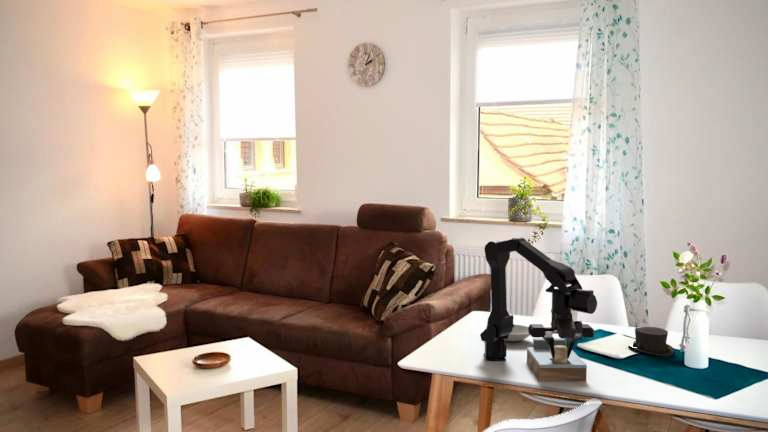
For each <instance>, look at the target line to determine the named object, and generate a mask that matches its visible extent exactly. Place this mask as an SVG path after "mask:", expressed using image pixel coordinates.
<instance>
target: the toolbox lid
mask: <svg viewBox="0 0 768 432" xmlns="http://www.w3.org/2000/svg"><path fill="white" fill-rule="evenodd" d="M532 338H533V341H532V345H533V346H532V347H530V346H527V347H526V348H527V349H526V352H527V351H528V352H529V354H530V355H531V356H532V358H533V359H534V361H535V362H536V363H537V365H538V366H539V367H540V368H588V366H587V364H586V362H585V361H583V359H582V358H581V357H579V355H578V354H576V352H574V350H573V349H572V351H571V354H570V356H569V358H568V359H567V363H568V364H553V360H554V359H553V358H552V356H551V353H550V350H549V347H548V344H547V342H546V340H544V339H543V338H542V337H532ZM556 345H562V346H566V338H554V346H556Z"/></svg>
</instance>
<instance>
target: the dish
mask: <svg viewBox="0 0 768 432" xmlns="http://www.w3.org/2000/svg"><path fill="white" fill-rule="evenodd" d="M513 324H514V327H513V329H512V332H511V333H510V334H509V337H508V339H504V340H505V342H519V341H524V340H525V339H528V338H529V337H531V335H530V334H529V333H528V328H529V325H528V326H527V325H523V324H517V323H516V324H515V323H513ZM486 328H487V326H486V327H485V329H486Z"/></svg>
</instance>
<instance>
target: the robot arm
mask: <svg viewBox="0 0 768 432" xmlns="http://www.w3.org/2000/svg"><path fill="white" fill-rule="evenodd" d="M512 252H515V253H517V254H519V255H520V256H521V257H523V258H524V259H525V260H527V262H529V263H530V264H532V265H533V266H535V267H536V268H537V269H539V270H540V271H541V272H542V273H543V276H544V277H545V280H547V281H548V282H549V283H550V285H549V287H548V288H546V289H545V292H546V293H551V309H550V313H551V320H550V327H546V326H544V325H543V324H542V323H530V324H529V325H528V327H529V328H528V333H529V334H530V337H532V338H543V339H544V340H546V342H547V344H548V347H549V350H550V353H551V356H552V358H553V359H554V355H555V353H554V339H555V337H553V334H554V335H555V334H556V335H558V337H559V339H566V341H565V346H566V347H567V359H568V358H569V356H570V354H571V351H572V350H573V349H574V346H575V344H576V343H577V342H578V341H581V340H582V337H583V338H589V339H590V338H591V339H592V338H595V330H594V328H593V327H592V326H591V325H589V324H588V323H585V324H584V323H583V322H582V321H581V320H577V321H573V319H572V313H571V309H572V310H573V311H578V313H585V314H590V315H592V314H594V313H595V312H596V310H597V308H598V300H597V297H596V296H595V294H594V290H592V289H583V286H582V285H581V283H580V282H579V280H578V279H577V276H576V274H575V270H574V269H573V268H572V267H570V266H569V265H566V264H565V263H563V262H560V261H557V260H556V261H555V260H553V259H552V258H550V257H548V256H547V254H545V253H543V252H542V251H541V250H539V249H538V248H537V247H535V246H534V245H532V244H531V243H530V242H528V241H527V240H526V239H525V238H524V237H522V236H520V237H513V238H511V239H508V240H504V239H500V240H492V241H488V242H487V243H486V244H485V246H484V255H485V260H486V262H487V264H488V265H489V268H490V291H491V292H490V293H491V295H490V296H491V298H490V299H491V311H490V314H488V315H489V316H488V318H487V321H486V323H487V324H486V327H487V328H486V327H485V329H484V330H483V331H482V332H481V333H480V335H479V336H480V339H481V341H482V342H484V353H483V357H484V358H485V360H486V361H506V360H507V359H506V357H507V344H506V341H505V340H504V339H508V337H509V334H510V333H511V332H512V329H513V327H514V324H515V323H514V317H515V316H514V315H513V314H512V315H510V314H509V311H508V310H507V309H508V307H507V305H508V304H507V277H506V275H507V273H506V267H507V264H508V263H509V261H510V258H511V257H510V256H511V253H512ZM581 336H582V337H581Z"/></svg>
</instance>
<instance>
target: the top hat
mask: <svg viewBox="0 0 768 432" xmlns="http://www.w3.org/2000/svg"><path fill="white" fill-rule="evenodd" d="M634 334H635V335H634V336H635V340H633V343H632V344H633V347H637V348H634V349H633V350H635V351H639V352H642V353H645V354H650V355H653V356H661V357H668V356H669V357H670V356H671V355H673V354H674V353H675V350H674V348H673V346H671V345H670V344H668V343H667V339H668V336H669V335H668V334H669V332H668V330H666V328H665V329H664V328H661V327H656V326H643V327H642V326H640V327H638V325H637V321H636V320H635V328H634Z"/></svg>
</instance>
